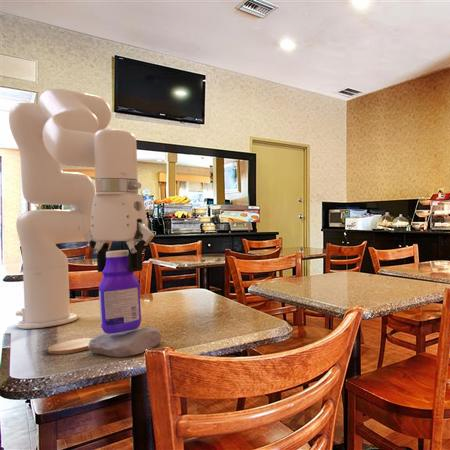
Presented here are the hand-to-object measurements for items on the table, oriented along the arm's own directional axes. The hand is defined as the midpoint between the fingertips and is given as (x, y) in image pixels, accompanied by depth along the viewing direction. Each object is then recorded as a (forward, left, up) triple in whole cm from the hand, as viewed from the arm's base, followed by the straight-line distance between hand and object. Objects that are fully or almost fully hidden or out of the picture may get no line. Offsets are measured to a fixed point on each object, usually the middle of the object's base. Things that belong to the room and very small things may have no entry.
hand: (120, 270), depth 88 cm
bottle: (0, 0, -13) cm, 13 cm away
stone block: (0, 0, -18) cm, 18 cm away
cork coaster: (-13, +1, -17) cm, 22 cm away
